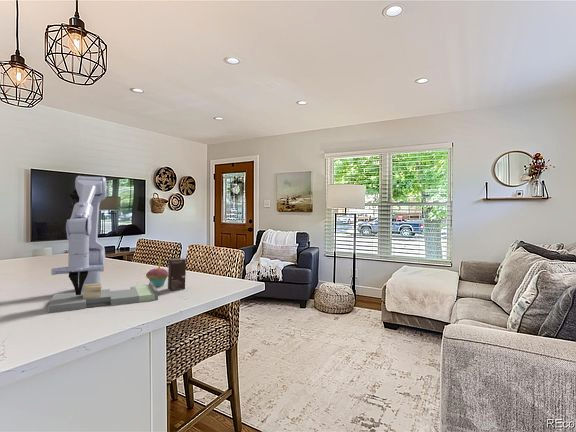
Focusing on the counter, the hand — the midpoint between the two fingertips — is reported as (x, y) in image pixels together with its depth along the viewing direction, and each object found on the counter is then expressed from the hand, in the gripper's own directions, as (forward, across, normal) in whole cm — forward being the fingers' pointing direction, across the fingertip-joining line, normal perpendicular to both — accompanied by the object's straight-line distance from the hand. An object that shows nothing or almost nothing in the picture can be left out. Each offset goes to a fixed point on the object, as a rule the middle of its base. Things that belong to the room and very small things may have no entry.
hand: (78, 294), depth 107 cm
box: (+3, +33, +6) cm, 33 cm away
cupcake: (+3, +27, +15) cm, 31 cm away
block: (+1, +4, 0) cm, 4 cm away
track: (+3, +8, 0) cm, 8 cm away
